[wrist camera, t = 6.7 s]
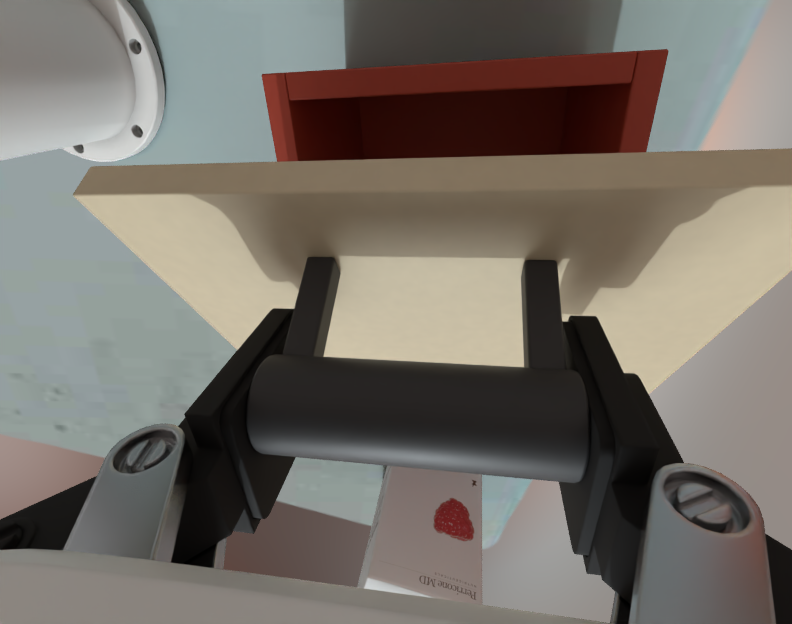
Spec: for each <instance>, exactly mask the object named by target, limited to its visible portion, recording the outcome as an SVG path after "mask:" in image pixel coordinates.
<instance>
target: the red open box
mask: <svg viewBox="0 0 792 624" xmlns="http://www.w3.org/2000/svg"><path fill="white" fill-rule="evenodd" d="M667 56H668V50H667V49H662V50H645V51H629V52H613V53H597V54H580V55H564V56H548V57H532V58H516V59H499V60H483V61H467V62H451V63H435V64H418V65H402V66H386V67H370V68H353V69H337V70H321V71H305V72H289V73H272V74H262V80H263V85H264V91H265V97H266V102H267V108H268V113H269V119H270V124H271V130H272V135H273V141H274V146H275V152H276V157H277V162H288V161H327V160H366V159H405V158H444V157H483V156H522V155H561V154H600V153H639V152H646V150H647V146H648V141H649V137H650V132H651V128H652V123H653V119H654V114H655V110H656V105H657V101H658V96H659V92H660V87H661V83H662V78H663V74H664V69H665V65H666V60H667Z"/></svg>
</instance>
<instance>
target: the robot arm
mask: <svg viewBox="0 0 792 624" xmlns="http://www.w3.org/2000/svg"><path fill="white" fill-rule="evenodd" d="M164 107H165V86H164V80H163V73H162V68H161V64H160V61H159V58H158V55H157V51H156V48H155V46H154V44H153V42H152V40H151V37H150V35H149V33H148V31H147V29H146V27H145V25H144V24H143V22H142V21H141V19H140V17H139V16H138V14H137V13H136V11H135V9H134V8H133V7H132V6H131V5H130V3H129V2H128V1H127V0H0V161H1V160H6V159H11V158H16V157H21V156H26V155H30V154H35V153H40V152H45V151H50V150H55V149H60V148H62V149H64V150H65V151H67V152H69V153H71V154H74V155H76V156H79V157H81V158H84V159H88V160H93V161H98V162H107V161H116V160H121V159H125V158H128V157H130V156H133V155H135V154H138V153H139V152H140V151H142V150H143V149H144V148H146V147H147V146H148V145H149V144H150V142H151V141H152V140H153V138H154V137H155V136H156V134H157V131H158V129H159V127H160V124H161V122H162V117H163V112H164ZM293 311H294V309H283V308H273V309H272V310H271V311H270V312H269V313H268V314H267V315H266V317H265V318H264V319H263V320H262V321H261V323H260V324H259V325H258V326H257V327H256V329H255V330H254V331H253V332H252V333H251V335H250V336H249V337H248V338H247V339H246V341H245V342H244V343H243V344H242V345H241V347H240V348H239V349H238V350H237V351H236V353H235V354H234V355H233V356H232V357H231V359H230V360H229V361H228V362H227V363H226V365H225V366H224V367H223V368H222V369H221V371H220V372H219V373H218V374H217V375H216V377H215V378H214V379H213V380H212V382H211V383H210V384H209V385H208V386H207V388H206V389H205V390H204V391H203V392H202V394H201V395H200V396H199V397H198V398H197V400H196V401H195V402H194V403H193V404H192V406H191V407H190V408H189V409H188V410H187V412H186V413H185V414H184V415H185V419H184V420H183V421H182V422H181V423H180V425H179V426H176V425H173V424H166V423H165V424H155V425H151V426H148V427H144V428H142V429H139V430H137V431H135V432H133V433H131V434H129V435H128V436H126V437H125V438H123V439H122V440H120V441H119V442H118V443H117V444H116V445H115V446H114V447H113V448H112V449H111V450H110V452H109V453H108V455H107V456H106V458H105V460H104V462H103V464H102V466H101V468H100V471H99V473H98V475H97V476H96V477H94V478H91V479H89V480H87V481H85V482H83V483H80V484H78V485H76V486H74V487H71V488H69V489H67V490H65V491H63V492H60V493H58V494H56V495H54V496H52V497H49V498H47V499H45V500H43V501H40V502H38V503H36V504H34V505H31V506H29V507H27V508H25V509H23V510H20V511H18V512H16V513H14V514H12V515H9V516H7V517H5V518H3V519H1V520H0V624H792V550H791V549H789V548H788V547H786V546H784V545H783V544H781V543H780V542H778V541H776V540H774V539H773V538H771V537H770V536H768V535H766V534H765V528H764V521H763V518H762V514H761V511H760V509H759V507H758V505H757V504H756V502H755V501H754V500H753V499H752V497H751V496H750V495H749V494H748V493H747V492H746V491H745V490H744V489H743V488H742V487H741V486H739V485H738V484H737V483H736V482H734V481H733V480H731V479H729V478H728V477H726V476H724V475H723V474H721V473H719V472H716V471H714V470H712V469H709V468H706V467H703V466H699V465H694V464H690V463H684V462H683V460H682V458H681V456H680V454H679V452H678V450H677V448H676V446H675V444H674V443H673V440H672V439H671V437H670V435H669V433H668V431H667V429H666V427H665V425H664V423H663V421H662V419H661V417H660V416H659V414H658V412H657V410H656V408H655V406H654V404H653V402H652V400H651V398H650V396H649V394H648V392H647V391H646V389H645V387H644V385H643V383H642V381H641V379H640V378H639V376H638V375H636V374H634V373H624V372H623V370H622V368H621V366H620V364H619V362H618V360H617V357H616V355H615V353H614V351H613V349H612V347H611V345H610V343H609V341H608V339H607V337H606V334H605V332H604V330H603V328H602V326H601V324H600V322H599V320H598V318H597V317H596V316H570V317H569V319H568V321H562V323H563V335H564V346H565V358H566V369H567V370H574V371H576V372H578V373H579V374H580V376H581V378H582V380H583V383H584V385H585V389H586V393H587V397H588V403H589V411H590V425H591V440H590V453H589V460H588V465H587V469H586V472H585V475H584V477H583V479H582V480H581V481H580V482H577V483H568V482H559V484H560V489H561V494H562V500H563V505H564V510H565V515H566V520H567V525H568V530H569V535H570V540H571V545H572V549H573V552H574V553H575V554H579V555H583V558H584V563H585V567H586V572H587V574H595V575H601V576H602V580H603V581H604V582H605V583H607V584H608V585H609V586H610V587H611V588H612V589H613V590H614V591H615V597H614V603H613V609H612V615H611V621H610V623H604V622H597V621H591V620H584V619H576V618H570V617H563V616H556V615H549V614H542V613H535V612H528V611H521V610H514V609H507V608H500V607H493V606H485V605H479V604H472V603H465V602H458V601H451V600H444V599H437V598H430V597H422V596H415V595H408V594H401V593H393V592H386V591H379V590H371V589H364V588H357V587H350V586H342V585H334V584H328V583H320V582H313V581H305V580H298V579H291V578H283V577H276V576H269V575H261V574H254V573H246V572H238V571H231V570H223V565H224V556H225V549H226V537H228V536H230V535H231V534H232V532H233V531H237V532H245V533H253V534H254V532H255V530H256V528H257V526H258V524H259V522H260V520H261V519H265V518H267V517H268V515H269V514H270V512H271V510H272V507H273V505H274V503H275V501H276V499H277V497H278V494H279V492H280V490H281V488H282V486H283V484H284V481H285V479H286V477H287V475H288V473H289V470H290V468H291V466H292V464H293V462H294V460H295V457H291V456H280V455H269V454H262V453H259V452H258V451H256V450H255V449H254V448H253V447H252V445H251V443H250V440H249V437H248V433H247V427H246V406H247V399H248V394H249V390H250V386H251V383H252V380H253V377H254V375H255V373H256V371H257V369H258V367H259V366H260V364H261V363H262V362H263V361H264V360H265V359H266V358H267V357H269V356H271V355H274V354H283V350H284V346H285V342H286V338H287V334H288V330H289V327H290V323H291V319H292V315H293Z"/></svg>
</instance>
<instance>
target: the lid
mask: <svg viewBox="0 0 792 624" xmlns="http://www.w3.org/2000/svg"><path fill="white" fill-rule="evenodd" d="M73 196H74V197H75V198H76V199H77V200H78V201H79V202H80V203H82V204H83V205H84V206H85V207H86V208H87V209H88V210H89V211H90V212H91V213H92V214H93V215H94V216H95V217H96V218H97V219H99V220H100V221H101V222H102V223H103V224H104V225H105V226H106V227H107V228H108V229H109V230H110V231H111V232H112V233H113V234H115V235H116V236H117V237H118V238H119V239H120V240H121V241H122V242H123V243H124V244H125V245H126V246H127V247H128V248H129V249H130V250H132V251H133V252H134V253H135V254H136V255H137V256H138V257H139V258H140V259H141V260H142V261H143V262H144V263H145V264H146V265H147V266H149V267H150V268H151V269H152V270H153V271H154V272H155V273H156V274H157V275H158V276H159V277H160V278H161V279H162V280H163V281H165V282H166V283H167V284H168V285H169V286H170V287H171V288H172V289H173V290H174V291H175V292H176V293H177V294H178V295H179V296H180V297H182V298H183V299H184V300H185V301H186V302H187V303H188V304H189V305H190V306H191V307H192V308H193V309H194V310H195V311H196V312H198V313H199V314H200V315H201V316H202V317H203V318H204V319H205V320H206V321H207V322H208V323H209V324H210V325H211V326H212V327H213V328H215V329H216V330H217V331H218V332H219V333H220V334H221V335H222V336H223V337H224V338H225V339H226V340H227V341H228V342H229V343H230V344H232V345H233V346H234V347H235V348H236V349H237V350H238V349H239V348H240V347H241V345H242V344H243V343H244V342H245V341H246V339H247V338H248V337H249V336H250V335H251V333H252V332H253V331H254V330H255V329H256V327H257V326H258V325H259V324H260V323H261V321H262V320H263V319H264V318H265V317H266V315H267V314H268V313H269V312H270V311H271V310H272V309H273V308H283V309H294V311H293V315H292V319H291V323H290V327H289V330H288V334H287V338H286V342H285V346H284V350H283V354H274V355H271V356H269V357H267V358H266V359H265V360H264V361H263V362H262V363H261V364H260V366H259V367H258V369H257V371H256V373H255V375H254V377H253V380H252V383H251V386H250V390H249V394H248V399H247V406H246V427H247V433H248V437H249V440H250V443H251V445H252V447H253V448H254V449H255V450H256V451H258V452H259V453H262V454H269V455H280V456H291V457H301V458H312V459H323V460H333V461H344V462H355V463H365V464H376V465H387V466H397V467H408V468H419V469H429V470H440V471H451V472H461V473H472V474H483V475H493V476H504V477H515V478H525V479H536V480H547V481H558V482H568V483H577V482H580V481H581V480H582V479H583V477H584V475H585V472H586V469H587V465H588V460H589V453H590V440H591V425H590V411H589V403H588V397H587V393H586V389H585V385H584V383H583V380H582V378H581V376H580V374H579V373H578V372H576V371H574V370H567V369H566V358H565V346H564V335H563V323H562V321H568V319H569V317H570V316H596V317H597V318H598V320H599V322H600V324H601V326H602V328H603V330H604V332H605V334H606V337H607V339H608V341H609V343H610V345H611V347H612V349H613V351H614V353H615V355H616V357H617V360H618V362H619V364H620V366H621V368H622V370H623V372H624V373H634V374H636V375H638V376H639V378H640V379H641V381H642V383H643V385H644V387H645V389H646V391H647V392H648V394H650V393H651V392H652V391H653V390H654V389H655V388H657V387H658V386H659V385H660V384H661V383H662V382H664V381H665V380H666V379H667V378H668V377H669V376H670V375H672V374H673V373H674V372H675V371H676V370H677V369H678V368H680V367H681V366H682V365H683V364H684V363H685V362H687V361H688V360H689V359H690V358H691V357H692V356H693V355H695V354H696V353H697V352H698V351H699V350H700V349H701V348H703V347H704V346H705V345H706V344H707V343H709V342H710V341H711V340H712V339H713V338H714V337H715V336H716V335H718V334H719V333H720V332H721V331H722V330H723V329H725V328H726V327H727V326H728V325H729V324H730V323H732V322H733V321H734V320H735V319H736V318H737V317H739V316H740V315H741V314H742V313H743V312H744V311H745V310H746V309H748V308H749V307H750V306H751V305H752V304H754V303H755V302H756V301H757V300H758V299H759V298H760V297H762V296H763V295H764V294H765V293H766V292H767V291H769V290H770V289H771V288H772V287H773V286H774V285H775V284H777V283H778V282H779V281H780V280H781V279H782V278H784V277H785V276H786V275H787V274H788V273H789V272H790V271H792V149H757V150H718V151H678V152H639V153H600V154H561V155H522V156H483V157H444V158H405V159H366V160H327V161H288V162H249V163H210V164H171V165H132V166H93V167H90V169H89V170H88V172H87V173H86V175H85V176H84V178H83V180H82V181H81V183H80V184H79V186H78V187H77V189H76V190H75V192H74V194H73Z"/></svg>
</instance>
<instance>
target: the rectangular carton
mask: <svg viewBox="0 0 792 624" xmlns="http://www.w3.org/2000/svg"><path fill="white" fill-rule="evenodd" d="M357 588H364V589H371V590H379V591H386V592H393V593H401V594H408V595H415V596H422V597H430V598H437V599H444V600H451V601H458V602H465V603H472V604H479V605H482V474H472V473H461V472H451V471H440V470H429V469H419V468H408V467H397V466H387V468H386V471H385V475H384V478H383V481H382V485H381V490H380V494H379V499H378V503H377V507H376V511H375V515H374V519H373V524H372V528H371V532H370V536H369V540H368V545H367V549H366V553H365V557H364V561H363V565H362V570H361V574H360V578H359V582H358V586H357Z"/></svg>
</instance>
